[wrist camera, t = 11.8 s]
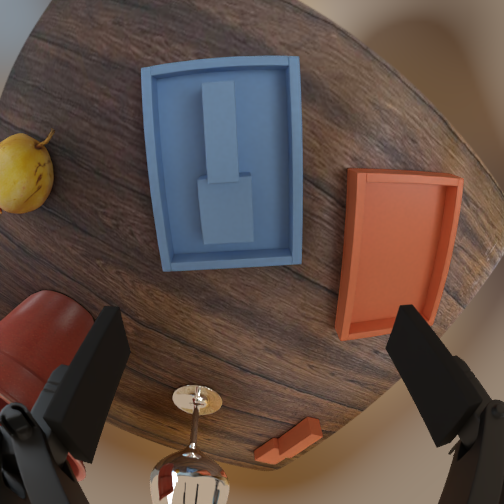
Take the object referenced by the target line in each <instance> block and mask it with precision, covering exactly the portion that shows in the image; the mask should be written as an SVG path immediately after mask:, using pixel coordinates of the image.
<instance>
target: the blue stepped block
mask: <svg viewBox="0 0 504 504" xmlns="http://www.w3.org/2000/svg"><path fill="white" fill-rule="evenodd" d="M202 100H203V119H204V136H205V151H206V166H207V175H201V176H200V177H199V178H198V180H197V184H198V196H199V206H200V217H201V227H202V236H203V244H204V245H206V244H223V243H240V242H254V224H253V200H252V177H251V173H250V172H243V173H239V162H238V142H237V121H236V100H235V82H234V81H219V82H207V83H202Z"/></svg>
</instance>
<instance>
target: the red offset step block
mask: <svg viewBox="0 0 504 504" xmlns="http://www.w3.org/2000/svg"><path fill="white" fill-rule="evenodd" d="M322 437H323V435H322V431H321V426H320V422H319V419H315V418H311V417H306V418H305V419H304V420H302V421H301V422H300V423H299V424H297V425H296V426H295V427H293V428H292V429H291V430H289V431H288V432H286V433H285V434H284V435H282V436H281V437H280V438H278V439H277V438H272V439H271V440H269V441H268V442H266V443H265V444H263V445H262V446H261V447H259V448H258V449H256V450H255V451H254V455H255V461H260V462H264V463H269V464H277V463H278V462H280V461H282V460H283V459H285V458H286V457H288V458H291V457H293V456H295V455H296V454H298V453H299V452H301V451H302V450H304V449H305V448H307V447H308V446H310V445H311V444H313V443H314V442H316V441H317V440H319V439H320V438H322Z"/></svg>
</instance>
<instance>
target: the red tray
mask: <svg viewBox="0 0 504 504" xmlns="http://www.w3.org/2000/svg"><path fill="white" fill-rule="evenodd" d="M463 183H464V179H463V178H461V177H458V176H455V175H452V174H449V173H437V172H425V171H410V170H391V169H365V168H348V169H347V196H346V216H345V231H344V245H343V257H342V268H341V278H340V287H339V296H338V304H337V312H336V320H335V330H336V332H337V334H338V337H339V339H340V341H346V340H352V339H359V338H366V337H373V336H379V335H385V334H391V331H392V328H393V325H394V322H395V319H396V316H397V313H398V309H399V306H400V305H409V304H412V305H413V306H414V307H415V308H416V309H417V311H418V312H419V313H420V314H421V316H422V317H423V318H424V319H425V321H426V322H427V323H428V324H429V326H432V325H433V323H434V320H435V316H436V313H437V310H438V307H439V303H440V300H441V297H442V293H443V289H444V286H445V282H446V278H447V274H448V270H449V266H450V261H451V257H452V252H453V247H454V243H455V237H456V232H457V226H458V220H459V214H460V207H461V200H462V192H463Z"/></svg>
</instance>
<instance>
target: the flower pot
mask: <svg viewBox="0 0 504 504" xmlns="http://www.w3.org/2000/svg"><path fill="white" fill-rule="evenodd" d="M93 324H94V321H93V317H92V316H91V315H90V314H89V312H88V311H87V310H85V309H84V308H83V307H82V306H81V305H80V304H78V303H77V302H76V301H74V300H73V299H71V298H69V297H67V296H65V295H63V294H61V293H58V292H54V291H49V290H42V291H40V292H37V293H35V294H32V295H30V296H29V297H28V298H26V299H25V300H24V301H23V302H22V303H21V304H19V305H18V306H17V307H16V308H15V309H14V310H12V311H11V312H10V313H9V314H8V315H7V316H6V317H4V318H3V319H2V320H1V321H0V412H1V410H2V409H3V408H4V407H5V406H6V405H8V404H10V403H15V402H17V403H22V404H23V405H24V406H26V407H27V409H28V410H29V412H31V410H32V408H33V406H34V404H35V402H36V401H37V399H38V397H39V395H40V393H41V391H42V390H43V388H44V386H45V384H46V383H47V380H48V379H49V377H50V375H51V373H52V372H53V371H54V370H55V369H56V368H57V367H58V366H60V365H61V364H63V365H70V363H71V362H72V360H73V358H74V356H75V354H76V353H77V351H78V349H79V347H80V346H81V344H82V342H83V341H84V339H85V337H86V336H87V334H88V332H89V330H90V329H91V327H92V326H93ZM0 426H2V425H1V424H0ZM66 459H67V460H68V462H69V464H70V466H71V468H72V470H73V473H74V475H75V477H76V479H77V481H78V482H79V481H82V480H83V479H84V478H85V477H86V470H85V466H84V464H83V461H80V460H76V459H74V458H73V457H72V455H71V454H70V453H69V452H68V455H67V457H66Z"/></svg>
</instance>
